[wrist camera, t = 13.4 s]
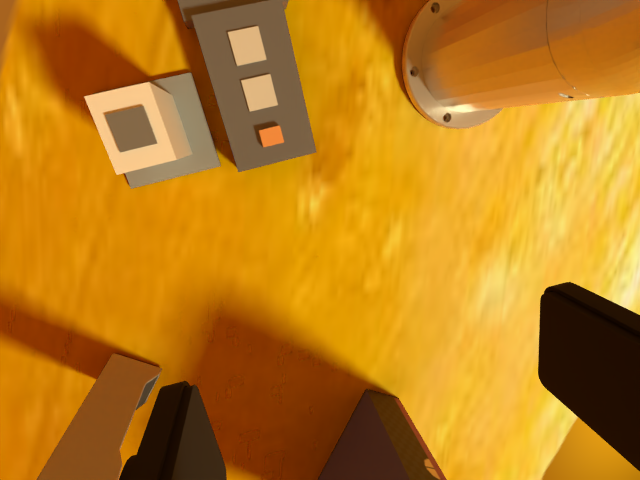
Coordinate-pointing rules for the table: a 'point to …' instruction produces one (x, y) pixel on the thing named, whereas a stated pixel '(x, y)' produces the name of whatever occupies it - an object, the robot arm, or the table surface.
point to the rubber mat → (194, 130)
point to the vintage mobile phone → (102, 423)
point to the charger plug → (139, 126)
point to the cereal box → (381, 445)
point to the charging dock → (253, 78)
